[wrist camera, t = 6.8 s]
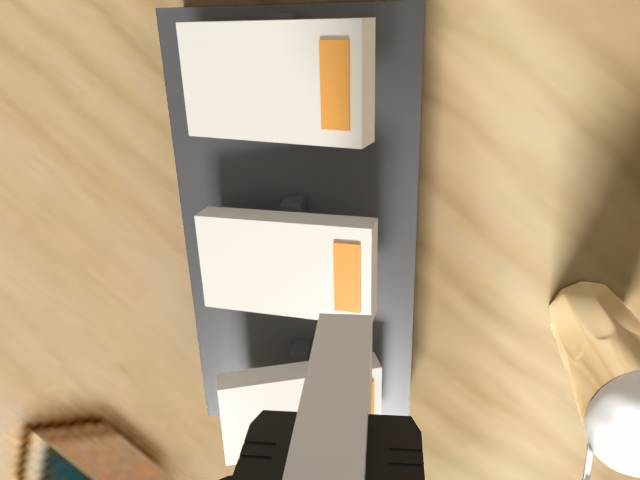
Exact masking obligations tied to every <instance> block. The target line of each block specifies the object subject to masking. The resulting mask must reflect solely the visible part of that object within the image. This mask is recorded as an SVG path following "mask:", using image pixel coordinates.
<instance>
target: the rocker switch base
mask: <svg viewBox="0 0 640 480" xmlns="http://www.w3.org/2000/svg"><path fill="white" fill-rule="evenodd" d="M156 16H157V23H158V31H159V39H160V47H161V54H162V62H163V70H164V78H165V86H166V93H167V101H168V109H169V117H170V124H171V132H172V140H173V148H174V155H175V163H176V171H177V179H178V186H179V194H180V202H181V210H182V217H183V225H184V233H185V241H186V249H187V256H188V264H189V272H190V280H191V287H192V295H193V303H194V311H195V318H196V326H197V334H198V342H199V349H200V357H201V365H202V373H203V380H204V388H205V396H206V404H207V411H208V416H220V411H219V403H218V394H217V375H216V373H222V372H230V371H237V370H245V369H252V368H259V367H267V366H274V365H282V364H289V363H296V362H304V361H309V358H310V353H311V349H312V345H313V340H314V336H315V331H316V327H317V322H318V320H313V319H305V318H296V317H288V316H280V315H272V314H263V313H255V312H247V311H239V310H230V309H222V308H214V307H205V302H204V294H203V285H202V277H201V269H200V260H199V252H198V244H197V235H196V227H195V219H194V216H195V215H196V214H198V213H199V212H200V211H202V210H203V209H205V208H206V207H207V206H215V207H229V208H244V209H258V210H273V211H287V212H302V213H316V214H331V215H345V216H360V217H374V218H378V247H377V312H376V315H375V317H374V320H373V323H372V352H375V354H376V356H377V358H378V360H379V362H380V364H381V366H382V404H381V415H397V416H409V408H410V382H411V356H412V331H413V305H414V280H415V254H416V229H417V203H418V178H419V152H420V127H421V101H422V75H423V50H424V24H425V0H395V1H364V2H333V3H302V4H271V5H240V6H209V7H178V8H156ZM368 17H376V20H375V141H374V142H373V143H371V144H370V145H368V146H366V147H365V148H363V149H352V148H339V147H326V146H313V145H300V144H287V143H274V142H262V141H249V140H236V139H223V138H210V137H197V136H189V133H188V125H187V116H186V107H185V99H184V90H183V82H182V73H181V65H180V56H179V48H178V39H177V31H176V23H177V22H196V21H239V20H282V19H325V18H368Z"/></svg>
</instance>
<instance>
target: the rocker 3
mask: <svg viewBox="0 0 640 480" xmlns="http://www.w3.org/2000/svg"><path fill="white" fill-rule="evenodd" d="M375 20H376V17H368V18H325V19H282V20H239V21H196V22H177V23H176V31H177V39H178V48H179V56H180V65H181V73H182V82H183V90H184V99H185V107H186V116H187V125H188V133H189V136H197V137H210V138H223V139H236V140H249V141H262V142H274V143H287V144H300V145H313V146H326V147H339V148H352V149H363V148H365V147H366V146H368V145H370V144H371V143H373V142H374V141H375Z"/></svg>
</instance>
